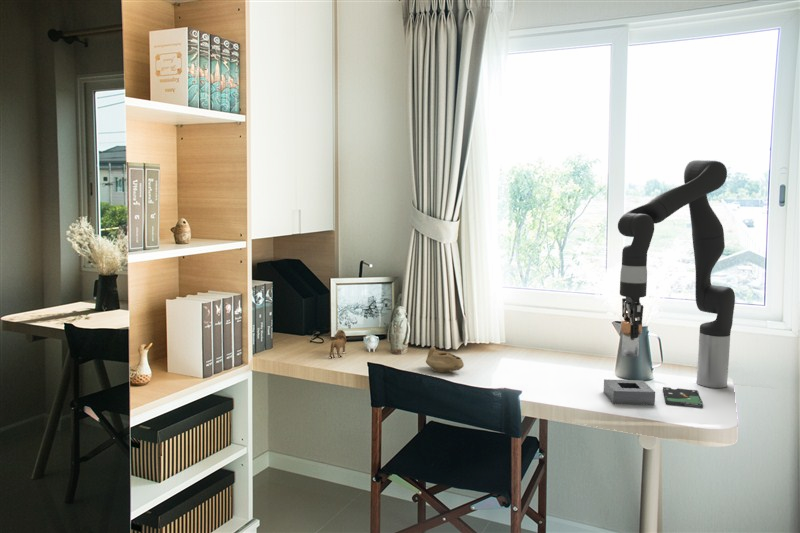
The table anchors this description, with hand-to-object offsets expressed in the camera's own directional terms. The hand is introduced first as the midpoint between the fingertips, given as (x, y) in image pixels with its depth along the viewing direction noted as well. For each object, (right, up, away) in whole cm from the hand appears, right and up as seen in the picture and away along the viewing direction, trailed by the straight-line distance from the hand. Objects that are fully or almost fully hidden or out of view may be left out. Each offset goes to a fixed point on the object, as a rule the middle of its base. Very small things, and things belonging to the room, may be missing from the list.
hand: (631, 335), depth 195 cm
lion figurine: (-94, -14, +57) cm, 111 cm away
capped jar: (0, -6, +1) cm, 6 cm away
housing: (0, -21, +2) cm, 21 cm away
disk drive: (+16, -21, +2) cm, 27 cm away
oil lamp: (-54, -17, +35) cm, 66 cm away
